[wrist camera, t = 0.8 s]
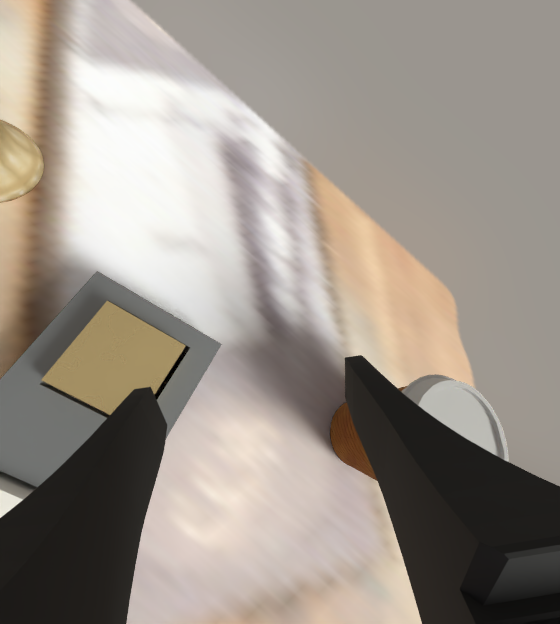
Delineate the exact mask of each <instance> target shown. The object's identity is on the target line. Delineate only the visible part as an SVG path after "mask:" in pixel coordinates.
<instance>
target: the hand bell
mask: <svg viewBox="0 0 560 624" xmlns="http://www.w3.org/2000/svg"><path fill="white" fill-rule="evenodd" d="M43 170H44V162H43V157H42V154H41V152H40V150H39V148H38V146H37V145H36V144H35V142H34V141H33V140H32V139H31V138H30V137H29V136H27V135H26V134H25V133H24V132H22V131H21V130H20V129H18V128H16V127H15V126H13V125H11V124H9V123H7V122H4V121H2V120H0V203H1V202H6V201H11V200H14V199H16V198H18V197H21V196H23V195H24V194H26V193H28V192H29V191H30V190H31V189H33V188H34V187H35V186H36V185H37V183H38V182H39V180H40V179H41V177H42V174H43Z"/></svg>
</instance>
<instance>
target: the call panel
mask: <svg viewBox="0 0 560 624" xmlns="http://www.w3.org/2000/svg"><path fill="white" fill-rule="evenodd" d="M106 301H109V302H111V303H112V304H114V305H116V306H118V307H119V308H121V309H123V310H125V311H126V312H128V313H130V314H132V315H133V316H135V317H137V318H139V319H140V320H142V321H144V322H146V323H147V324H149V325H151V326H153V327H154V328H156V329H158V330H160V331H161V332H163V333H165V334H166V335H168V336H170V337H172V338H173V339H175V340H177V341H179V342H180V343H182V344H184V345H186V346H185V348H184V350H183V352H185V353H187V354H186V355H185V357H184V358H183V360H182V361H181V363H180V365H179V366H178V368H177V369H176V371H175V372H174V374H173V376H172V377H171V379H170V380H169V382H168V383H167V385H166V387H165V388H164V390H163V391H162V393H161V394H160V396H159V398H158V399H157V402H158V404H159V407H160V409H161V411H162V413H163V416H164V418H165V420H166V423H167V432H166V438H167V436H168V434H169V432H170V431H171V429H172V427H173V426H174V424H175V422H176V421H177V419H178V417H179V416H180V414H181V412H182V410H183V409H184V407H185V405H186V404H187V402H188V400H189V399H190V397H191V395H192V394H193V392H194V390H195V388H196V387H197V385H198V383H199V382H200V380H201V378H202V377H203V375H204V373H205V371H206V370H207V368H208V366H209V365H210V363H211V361H212V360H213V358H214V356H215V355H216V353H217V351H218V349H219V348H220V346H221V344H220V343H218V342H217V341H215V340H213V339H212V338H210V337H208V336H207V335H205V334H203V333H201V332H200V331H198V330H196V329H195V328H193V327H191V326H190V325H188V324H186V323H184V322H183V321H181V320H179V319H178V318H176V317H174V316H173V315H171V314H169V313H167V312H166V311H164V310H162V309H161V308H159V307H157V306H156V305H154V304H152V303H150V302H149V301H147V300H145V299H144V298H142V297H140V296H139V295H137V294H135V293H133V292H132V291H130V290H128V289H127V288H125V287H123V286H122V285H120V284H118V283H116V282H115V281H113V280H111V279H110V278H108V277H106V276H105V275H103V274H101V273H99V272H98V271H97V272H96V273H95V274H94V275H93V276H92V278H91V279H90V280H89V281H88V282H87V283H86V284H85V285H84V286H83V288H82V289H81V290H80V291H79V292H78V293H77V294H76V295H75V297H74V298H73V299H72V300H71V301H70V302H69V303H68V304H67V305H66V307H65V308H64V309H63V310H62V311H61V312H60V313H59V314H58V315H57V317H56V318H55V319H54V320H53V321H52V322H51V323H50V324H49V326H48V327H47V328H46V329H45V330H44V331H43V332H42V333H41V334H40V336H39V337H38V338H37V339H36V340H35V341H34V342H33V343H32V344H31V346H30V347H29V348H28V349H27V350H26V351H25V352H24V353H23V355H22V356H21V357H20V358H19V359H18V360H17V361H16V362H15V363H14V365H13V366H12V367H11V368H10V369H9V370H8V371H7V372H6V373H5V375H4V376H3V377H2V378H1V379H0V471H2V472H4V473H6V474H8V475H11V476H13V477H15V478H17V479H20V480H22V481H24V482H26V483H29V484H31V485H33V486H36V487H38V486H39V485H41V484H42V483H43V482H44V481H45V480H46V479H47V478H48V477H50V476H51V475H52V474H53V473H54V472H55V471H56V470H57V469H58V468H59V467H60V466H61V465H62V464H63V463H64V462H65V461H66V460H67V459H68V458H69V457H70V456H71V455H72V454H73V453H74V452H75V451H76V450H77V449H78V448H79V447H80V446H81V445H82V444H83V443H84V442H85V441H86V440H87V439H88V438H89V437H90V436H91V435H92V434H93V433H94V432H95V431H96V430H97V429H98V428H99V427H100V425H101V424H102V423H103V422H104V421H105V420H106V419H107V418H108V417H109V415H107V414H105V413H103V412H101V411H99V410H97V409H95V408H93V407H91V406H90V405H88V404H86V403H84V402H82V401H80V400H78V399H76V398H74V397H72V396H70V395H68V394H66V393H64V392H62V391H60V390H58V389H56V388H54V387H53V386H52V385H50V384H48V383H46V382H44V381H42V380H41V379H42V378H43V377H44V376H45V375H46V373H47V372H48V371H49V370H50V369H51V367H52V366H53V365H54V364H55V363H56V361H57V360H58V359H59V358H60V357H61V355H62V354H63V353H64V352H65V351H66V349H67V348H68V347H69V346H70V345H71V343H72V342H73V341H74V340H75V339H76V337H77V336H78V335H79V334H80V333H81V331H82V330H83V329H84V328H85V327H86V325H87V324H88V323H89V322H90V321H91V319H92V318H93V317H94V316H95V315H96V313H97V312H98V311H99V310H100V309H101V307H102V306H103V305H104V304H105V303H106Z"/></svg>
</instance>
